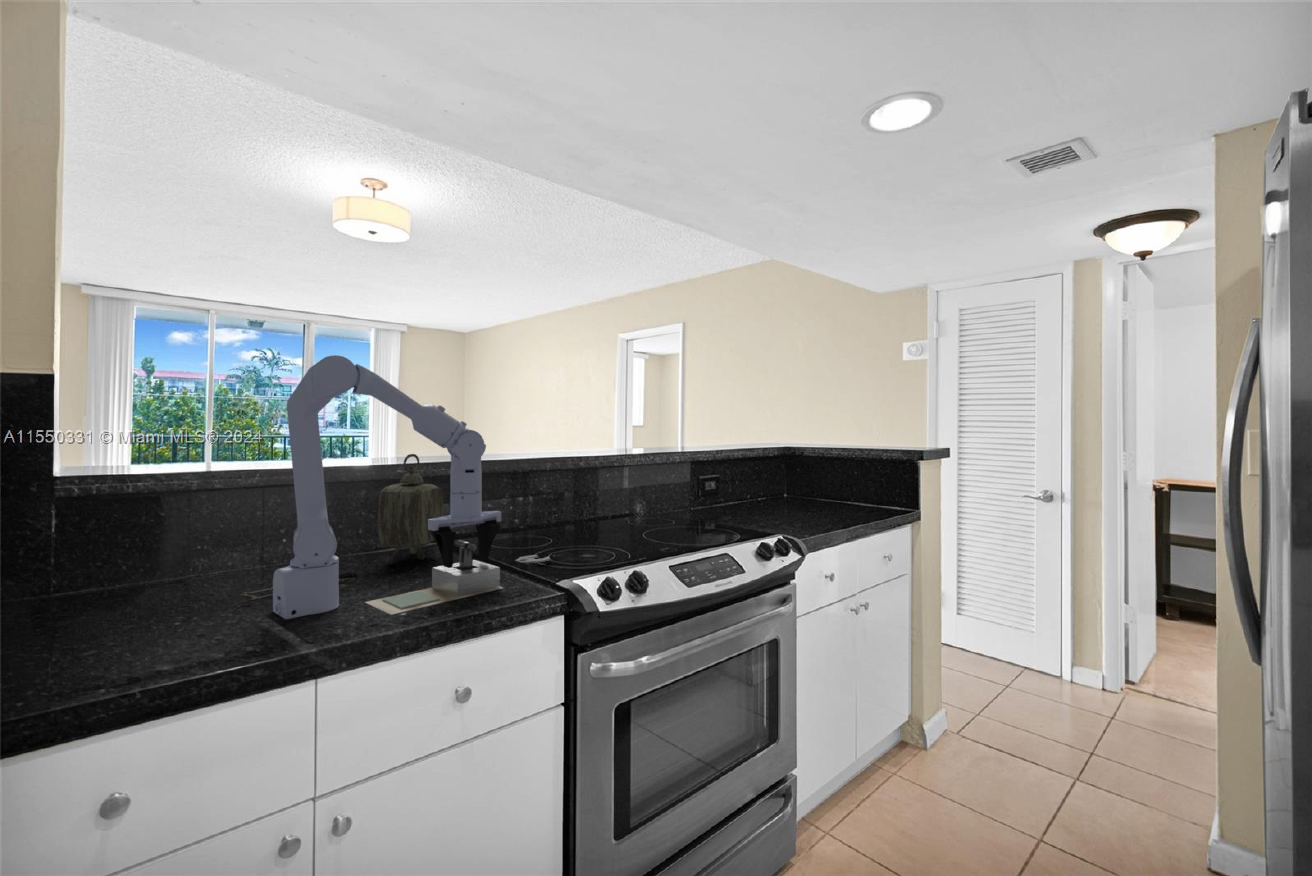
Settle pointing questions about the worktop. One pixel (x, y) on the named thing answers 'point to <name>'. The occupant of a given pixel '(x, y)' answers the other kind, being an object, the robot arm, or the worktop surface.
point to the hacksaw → (253, 597)
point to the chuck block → (466, 579)
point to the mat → (410, 600)
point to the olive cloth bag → (408, 512)
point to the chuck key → (465, 554)
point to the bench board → (394, 610)
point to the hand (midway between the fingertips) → (466, 563)
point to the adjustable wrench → (532, 559)
